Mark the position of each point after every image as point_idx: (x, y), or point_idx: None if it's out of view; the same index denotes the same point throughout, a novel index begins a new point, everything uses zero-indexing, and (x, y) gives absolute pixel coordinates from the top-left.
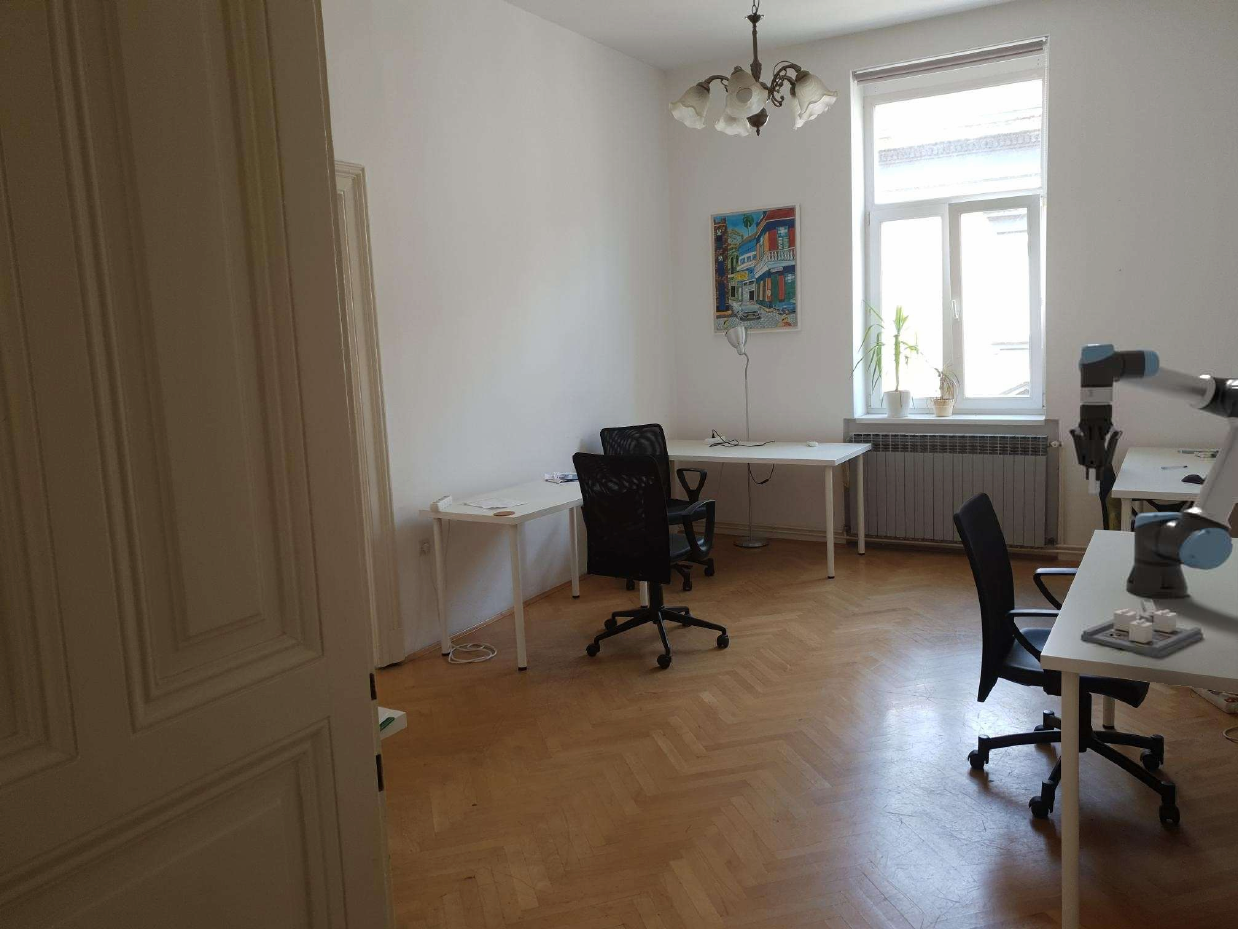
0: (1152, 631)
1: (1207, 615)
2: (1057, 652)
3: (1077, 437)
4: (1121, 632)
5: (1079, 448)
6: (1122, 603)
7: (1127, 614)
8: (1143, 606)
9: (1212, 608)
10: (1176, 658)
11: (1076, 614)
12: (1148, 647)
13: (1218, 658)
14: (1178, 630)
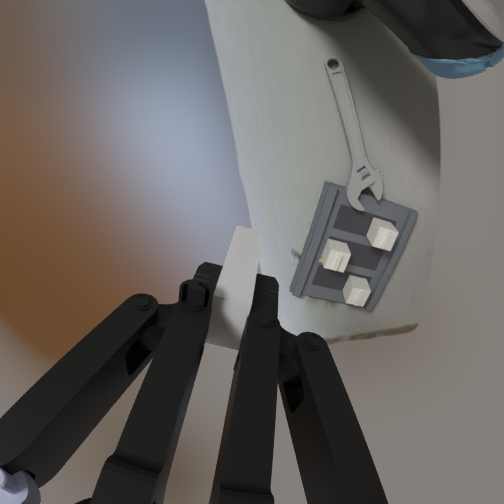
0: (368, 285)
1: (415, 91)
2: None
3: (52, 477)
4: None
5: (98, 419)
6: (297, 75)
7: (341, 269)
8: (336, 102)
9: None
10: (385, 298)
11: (254, 180)
12: None
13: (421, 278)
14: (393, 217)
